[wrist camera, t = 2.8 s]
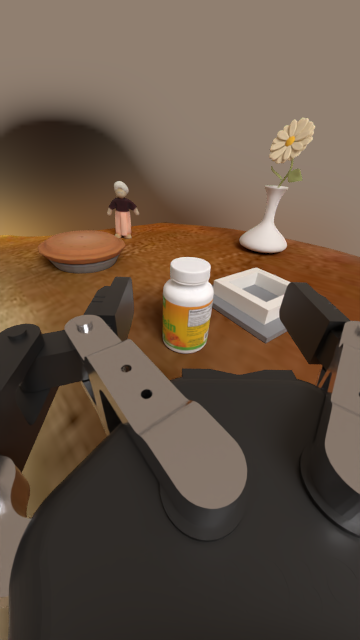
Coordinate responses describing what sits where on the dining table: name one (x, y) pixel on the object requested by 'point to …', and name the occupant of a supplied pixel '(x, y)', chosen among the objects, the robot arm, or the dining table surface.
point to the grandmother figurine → (122, 211)
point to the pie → (82, 251)
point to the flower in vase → (282, 149)
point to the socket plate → (252, 301)
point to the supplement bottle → (187, 305)
